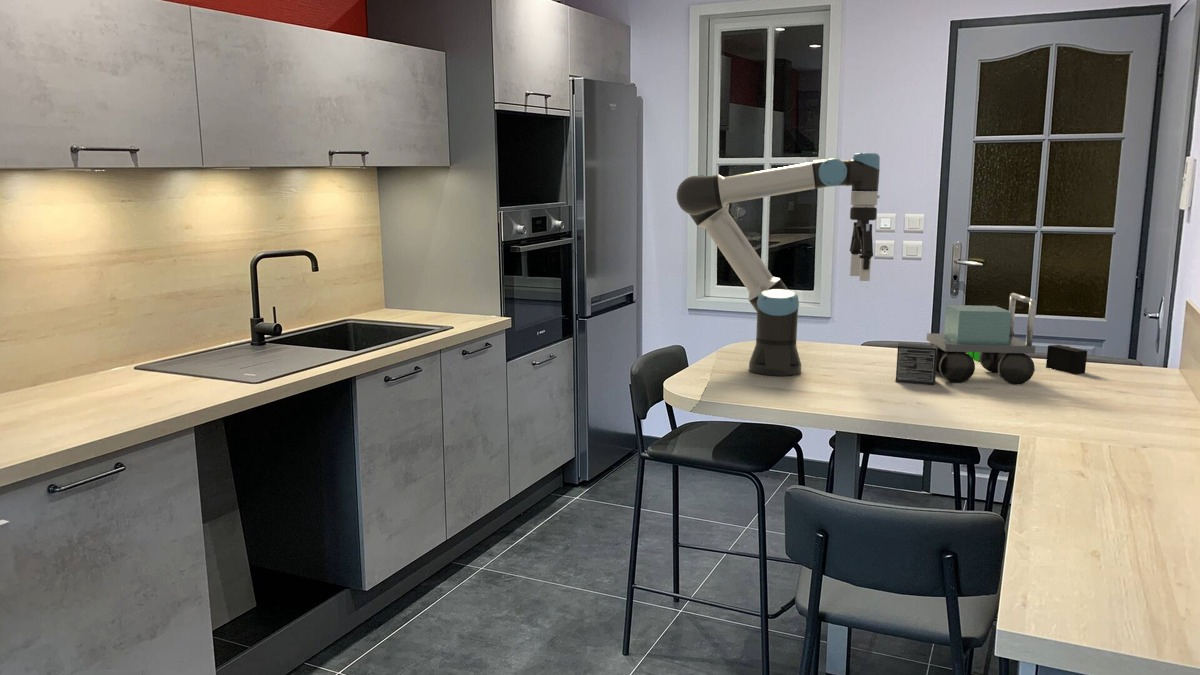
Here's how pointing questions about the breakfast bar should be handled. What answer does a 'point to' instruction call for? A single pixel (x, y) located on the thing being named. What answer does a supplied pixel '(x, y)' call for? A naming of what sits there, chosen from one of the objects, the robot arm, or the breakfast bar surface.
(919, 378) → the small box
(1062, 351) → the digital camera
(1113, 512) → the breakfast bar surface
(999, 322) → the trolley
